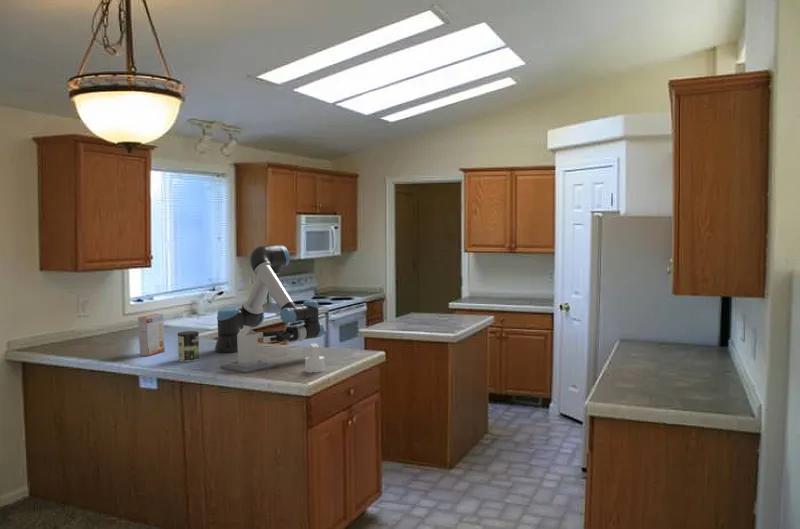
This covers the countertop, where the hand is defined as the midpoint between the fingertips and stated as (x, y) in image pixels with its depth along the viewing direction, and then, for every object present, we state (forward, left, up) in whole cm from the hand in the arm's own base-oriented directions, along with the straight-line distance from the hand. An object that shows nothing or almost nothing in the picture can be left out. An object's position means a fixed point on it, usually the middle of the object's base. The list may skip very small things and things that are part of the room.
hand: (257, 338), depth 323 cm
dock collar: (-1, -5, -14) cm, 14 cm away
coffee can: (-40, -13, -14) cm, 44 cm away
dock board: (-1, -5, -14) cm, 14 cm away
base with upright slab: (+30, +10, -14) cm, 34 cm away
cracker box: (-71, -16, -14) cm, 74 cm away
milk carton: (-1, -5, -13) cm, 14 cm away
